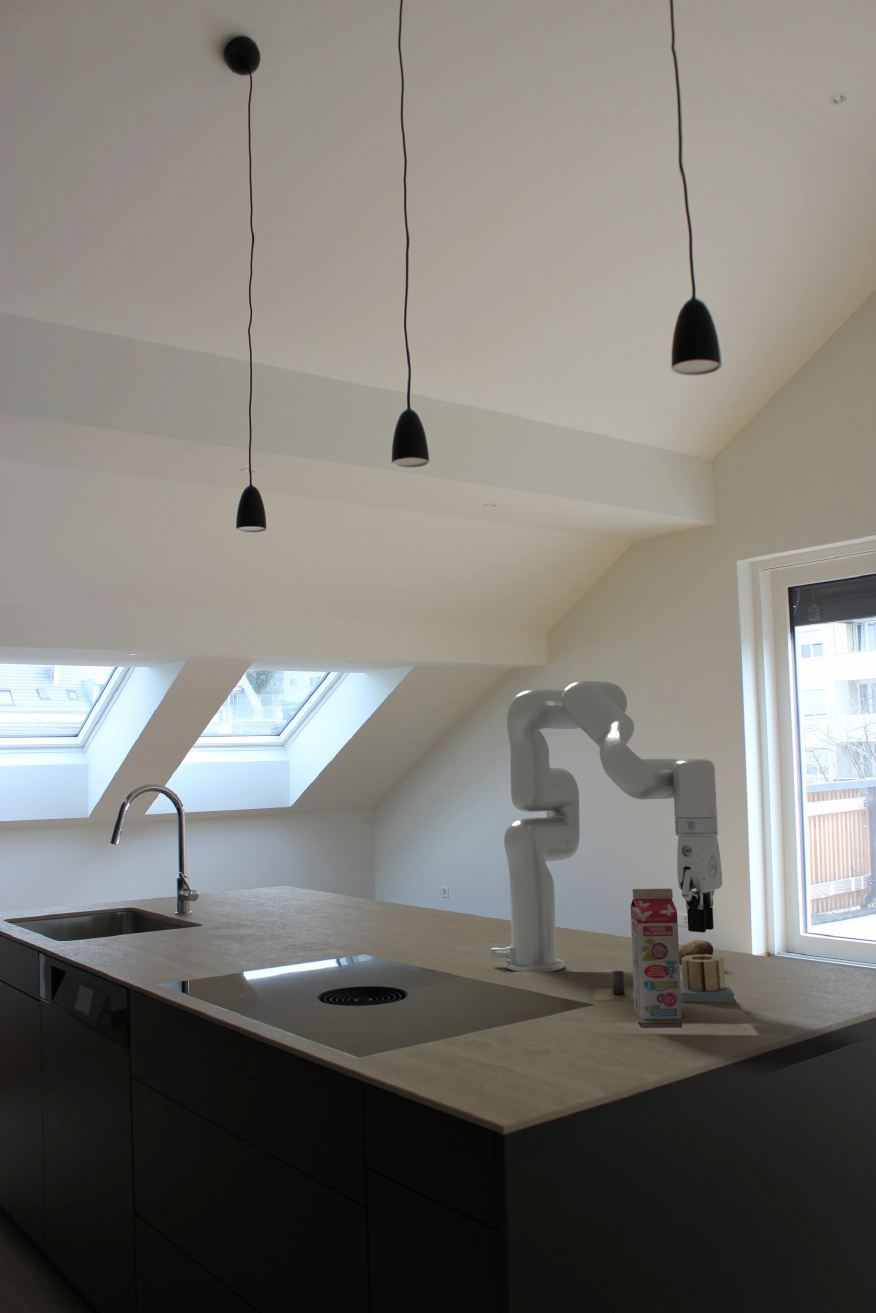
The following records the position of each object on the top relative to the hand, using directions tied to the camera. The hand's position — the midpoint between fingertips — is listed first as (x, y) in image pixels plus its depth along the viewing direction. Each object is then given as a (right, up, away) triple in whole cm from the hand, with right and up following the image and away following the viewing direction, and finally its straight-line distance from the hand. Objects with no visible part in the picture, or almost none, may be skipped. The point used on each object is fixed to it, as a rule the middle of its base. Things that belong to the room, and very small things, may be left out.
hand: (700, 929), depth 183 cm
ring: (0, -10, -1) cm, 10 cm away
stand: (-15, -14, +1) cm, 20 cm away
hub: (0, -13, -1) cm, 13 cm away
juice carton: (-11, -12, -13) cm, 21 cm away
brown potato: (+7, -17, +31) cm, 36 cm away
